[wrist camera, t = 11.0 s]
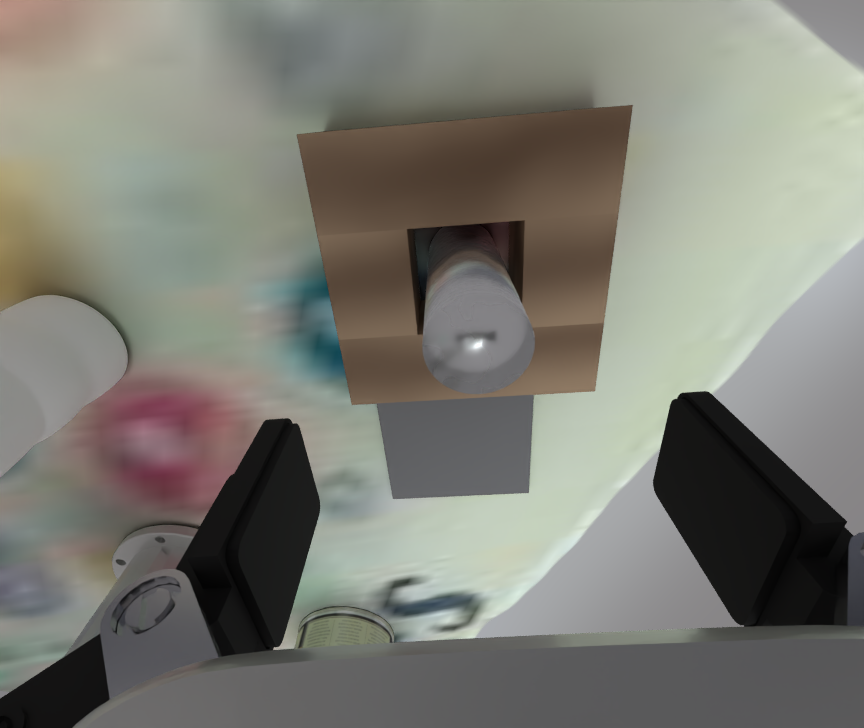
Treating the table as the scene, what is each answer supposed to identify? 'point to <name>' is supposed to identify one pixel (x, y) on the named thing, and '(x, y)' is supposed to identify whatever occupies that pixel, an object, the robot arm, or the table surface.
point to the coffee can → (342, 628)
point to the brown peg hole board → (462, 205)
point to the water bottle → (51, 368)
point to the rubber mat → (458, 446)
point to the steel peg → (473, 314)
